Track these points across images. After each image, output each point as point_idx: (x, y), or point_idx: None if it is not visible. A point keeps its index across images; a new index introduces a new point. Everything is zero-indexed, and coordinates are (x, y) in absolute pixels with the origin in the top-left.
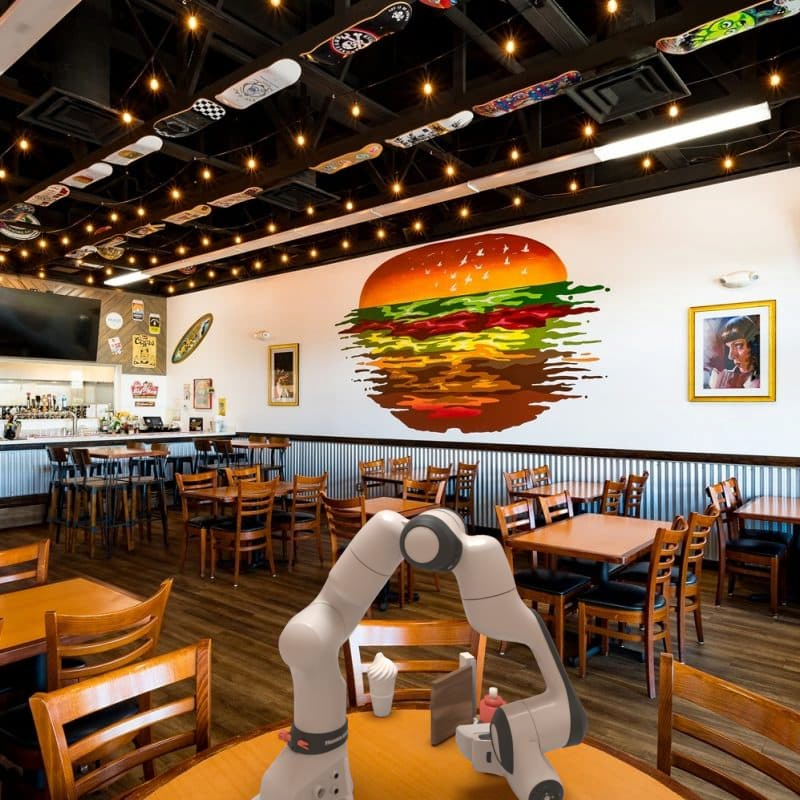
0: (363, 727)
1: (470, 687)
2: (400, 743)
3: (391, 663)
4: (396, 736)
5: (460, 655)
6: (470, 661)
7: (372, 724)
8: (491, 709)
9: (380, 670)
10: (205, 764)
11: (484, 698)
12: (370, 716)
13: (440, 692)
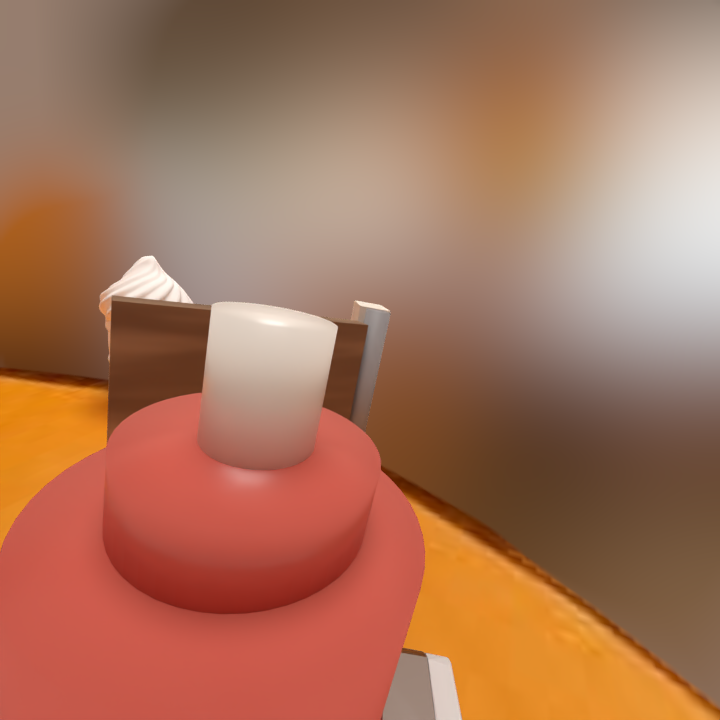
0: (35, 420)
1: (344, 394)
2: (22, 500)
3: (167, 287)
4: (61, 471)
5: (354, 305)
6: (367, 312)
7: (72, 420)
8: (13, 647)
9: (119, 290)
10: None
11: (150, 411)
12: (107, 404)
13: (155, 356)
